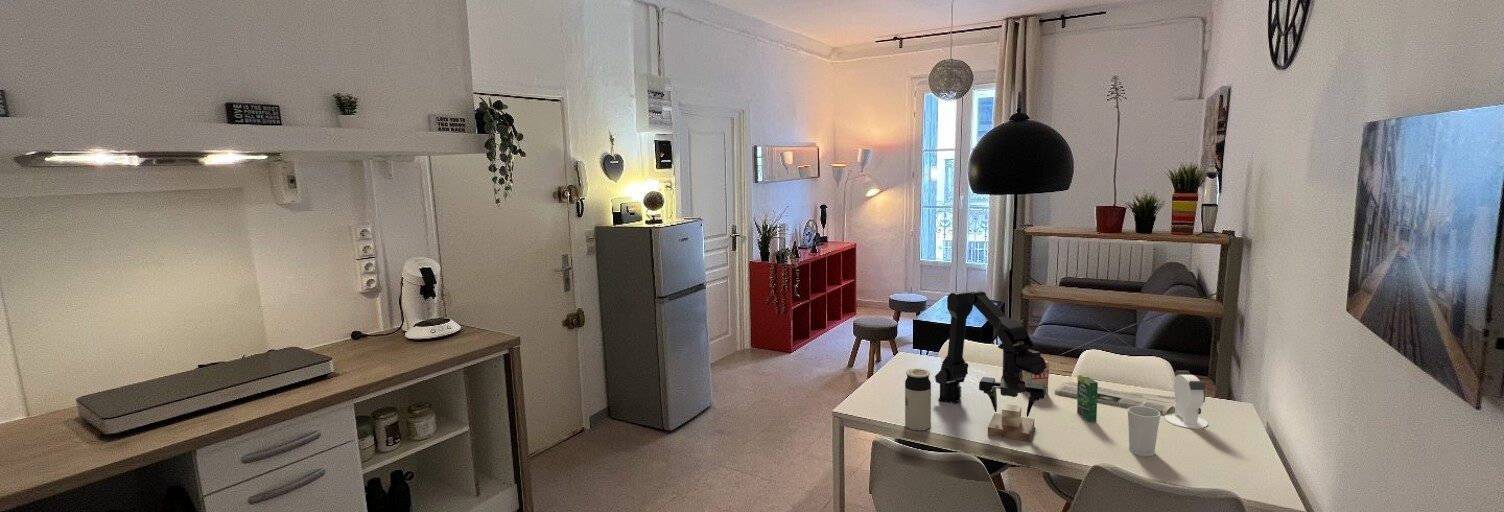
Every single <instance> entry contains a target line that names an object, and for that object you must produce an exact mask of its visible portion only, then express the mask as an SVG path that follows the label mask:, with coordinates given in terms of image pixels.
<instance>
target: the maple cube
mask: <svg viewBox="0 0 1504 512" xmlns="http://www.w3.org/2000/svg"><path fill="white" fill-rule="evenodd" d="M1001 414H1002V425H1007V426H1013V427H1019V426H1020V423H1021V417H1022V406H1021V405H1016V404H1010V403H1003V406H1002V408H1001Z"/></svg>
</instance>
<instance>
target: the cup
mask: <svg viewBox="0 0 1504 512" xmlns="http://www.w3.org/2000/svg"><path fill="white" fill-rule="evenodd" d="M1160 420H1161V414H1160V412H1159V411H1157V410H1155V409H1152V408H1149V407H1143V406H1133V407H1129V408H1127V421H1128V422H1127V424H1128V450H1129V452H1130V453H1132V454H1133V455H1136V456H1140V457H1153V456H1155V455H1156V453H1155V452H1156V445H1157V439H1158V432H1159V425H1160Z"/></svg>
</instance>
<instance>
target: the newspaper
mask: <svg viewBox="0 0 1504 512" xmlns="http://www.w3.org/2000/svg"><path fill="white" fill-rule="evenodd" d="M1077 392H1078V382H1075V381H1068V382H1063V381H1062V382H1061V383H1060V385H1058V387H1057V388H1056V389H1055V390H1054V395H1056V396H1061V397H1062V396H1063V397H1068V398H1073V399H1077ZM1098 403H1099V404H1103V405H1110V406H1115V407H1119V406H1120V408H1126V409H1128V408H1129V407H1133V406H1143V407H1149V408H1152V409H1155V410H1157V411H1159V412H1160V414H1162V416H1165V415H1167V414H1168V411H1169V410H1170V408H1171V407H1172V406H1174V404H1175V403H1176V397H1175V396H1168V395H1159V394H1158V395H1157V394H1149V393H1142V392H1141V393H1140V392H1133V391H1125V390H1124V391H1123V390H1117V389H1113V388H1112V389H1111V388H1106V387H1100V386H1098V391H1097V404H1098Z"/></svg>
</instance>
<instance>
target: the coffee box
mask: <svg viewBox="0 0 1504 512" xmlns="http://www.w3.org/2000/svg"><path fill="white" fill-rule="evenodd" d="M1077 383H1078V392H1077V398H1076V399H1077V400H1076V401H1077V402H1076V403H1077V404H1076V405H1077V406H1076V413H1077V414H1078V415H1079V416H1080V417H1081V418H1083V419H1084V420H1085V421H1086V422H1088V423H1096V422H1097V419H1098V415H1097V414H1098V402H1097V391H1098V387H1099V386H1098V385H1099V383H1098V381H1096V380H1094V379H1092V378H1091V377H1089V376H1088V375H1087V374H1084V375H1083V374H1082V375H1081V374H1080V375H1077Z"/></svg>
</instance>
